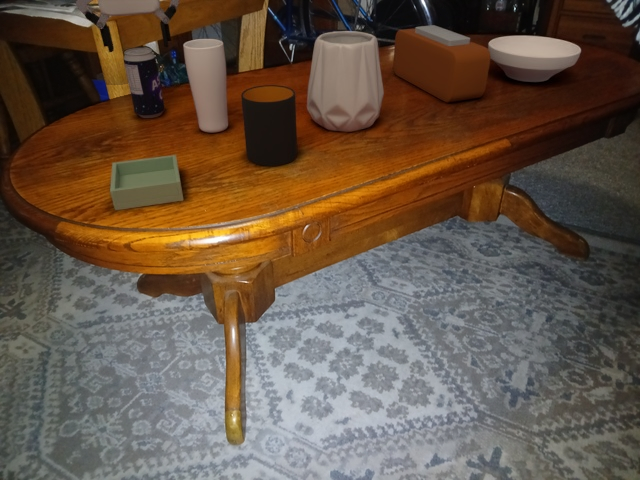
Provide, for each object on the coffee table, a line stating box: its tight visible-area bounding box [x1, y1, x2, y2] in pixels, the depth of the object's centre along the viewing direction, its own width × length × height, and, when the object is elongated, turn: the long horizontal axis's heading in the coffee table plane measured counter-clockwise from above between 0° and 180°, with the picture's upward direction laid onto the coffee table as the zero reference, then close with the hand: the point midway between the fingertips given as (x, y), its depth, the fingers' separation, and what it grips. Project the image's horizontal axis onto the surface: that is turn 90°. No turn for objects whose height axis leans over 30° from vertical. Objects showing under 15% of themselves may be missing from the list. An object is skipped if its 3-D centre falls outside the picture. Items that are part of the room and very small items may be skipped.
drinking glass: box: [182, 38, 229, 134], centre depth 90 cm, size 7×7×15 cm
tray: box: [109, 154, 184, 211], centre depth 74 cm, size 9×9×3 cm
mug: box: [240, 84, 298, 167], centre depth 83 cm, size 8×12×10 cm
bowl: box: [487, 35, 582, 83], centre depth 116 cm, size 20×20×7 cm
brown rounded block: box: [392, 24, 491, 104], centre depth 111 cm, size 24×8×11 cm, turn 22°
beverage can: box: [123, 47, 166, 119], centre depth 97 cm, size 6×6×12 cm
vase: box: [306, 30, 385, 133], centre depth 92 cm, size 14×14×15 cm
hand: (139, 47), depth 94 cm, fingers open, 9 cm apart
